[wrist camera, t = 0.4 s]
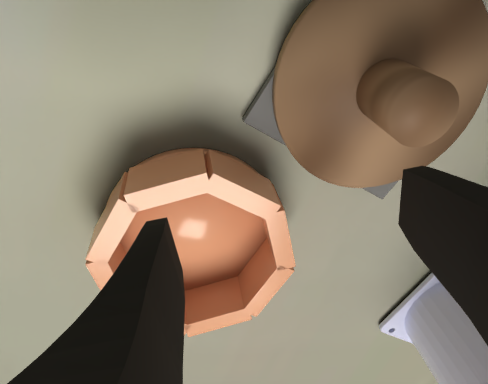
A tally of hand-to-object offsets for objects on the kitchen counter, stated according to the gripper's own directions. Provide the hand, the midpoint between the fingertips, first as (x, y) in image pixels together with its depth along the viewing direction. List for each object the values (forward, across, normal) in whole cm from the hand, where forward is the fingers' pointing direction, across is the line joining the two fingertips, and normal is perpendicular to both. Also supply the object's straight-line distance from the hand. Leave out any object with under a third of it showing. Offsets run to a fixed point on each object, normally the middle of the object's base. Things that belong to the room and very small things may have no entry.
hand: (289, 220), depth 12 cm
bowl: (+10, +4, +6) cm, 12 cm away
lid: (+9, -7, 0) cm, 11 cm away
